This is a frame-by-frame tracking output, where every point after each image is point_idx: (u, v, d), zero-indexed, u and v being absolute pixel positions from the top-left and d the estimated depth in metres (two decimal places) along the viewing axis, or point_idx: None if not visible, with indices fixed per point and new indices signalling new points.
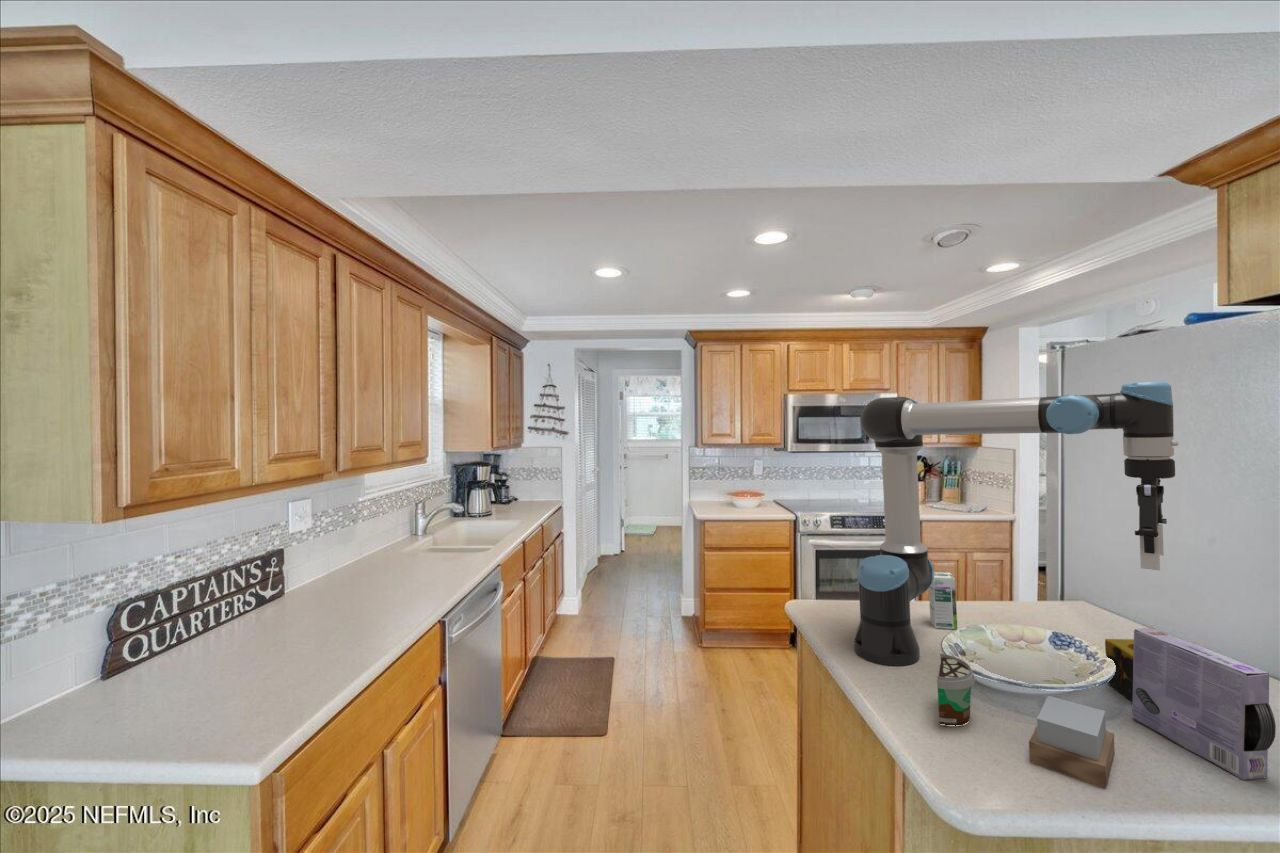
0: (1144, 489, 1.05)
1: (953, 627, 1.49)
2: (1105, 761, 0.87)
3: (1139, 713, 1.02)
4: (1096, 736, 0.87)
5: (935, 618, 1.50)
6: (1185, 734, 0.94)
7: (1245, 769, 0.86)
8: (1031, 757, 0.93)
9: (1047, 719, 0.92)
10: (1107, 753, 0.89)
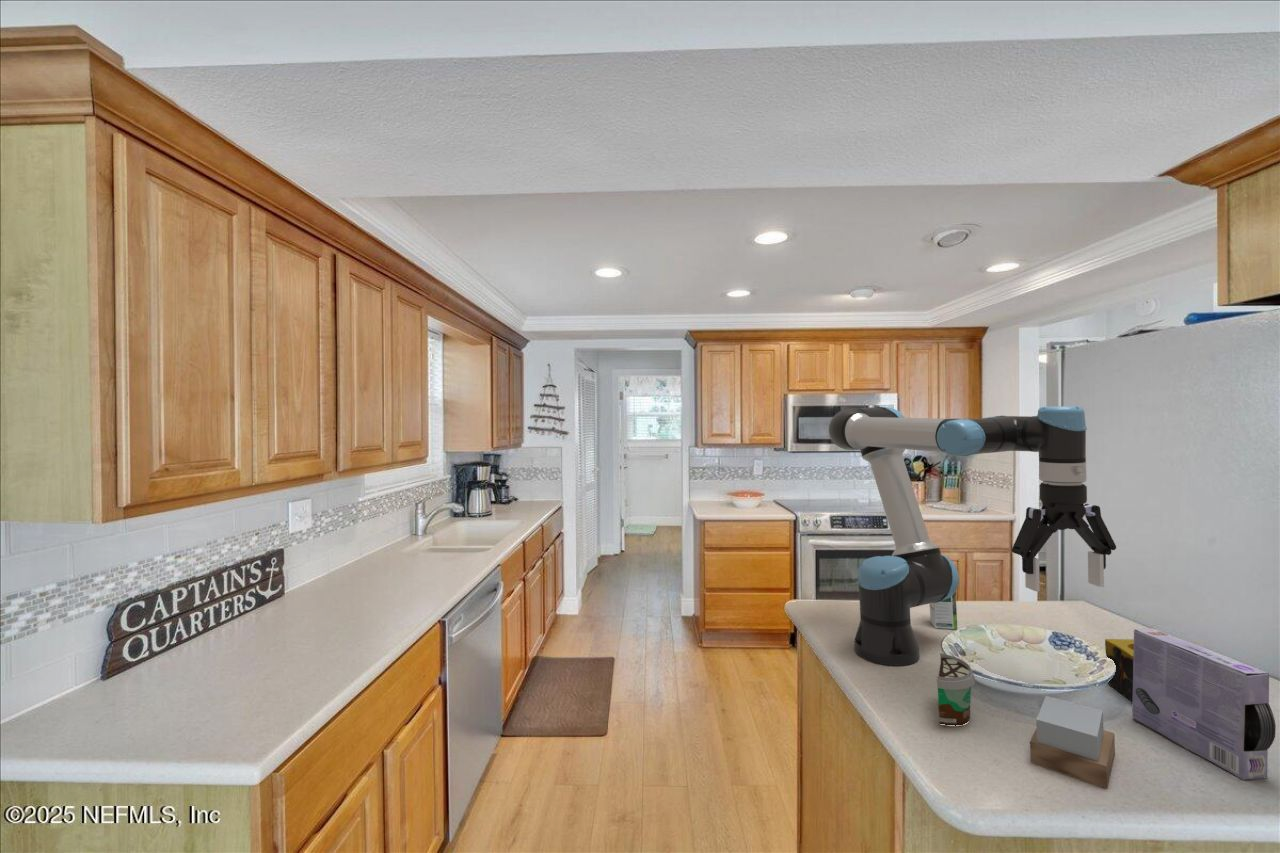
0: (1029, 512, 1.09)
1: (953, 627, 1.49)
2: (1106, 761, 0.87)
3: (1139, 713, 1.02)
4: (1096, 737, 0.87)
5: (935, 618, 1.50)
6: (1185, 734, 0.94)
7: (1245, 769, 0.86)
8: (1032, 757, 0.93)
9: (1046, 720, 0.92)
10: (1108, 753, 0.89)
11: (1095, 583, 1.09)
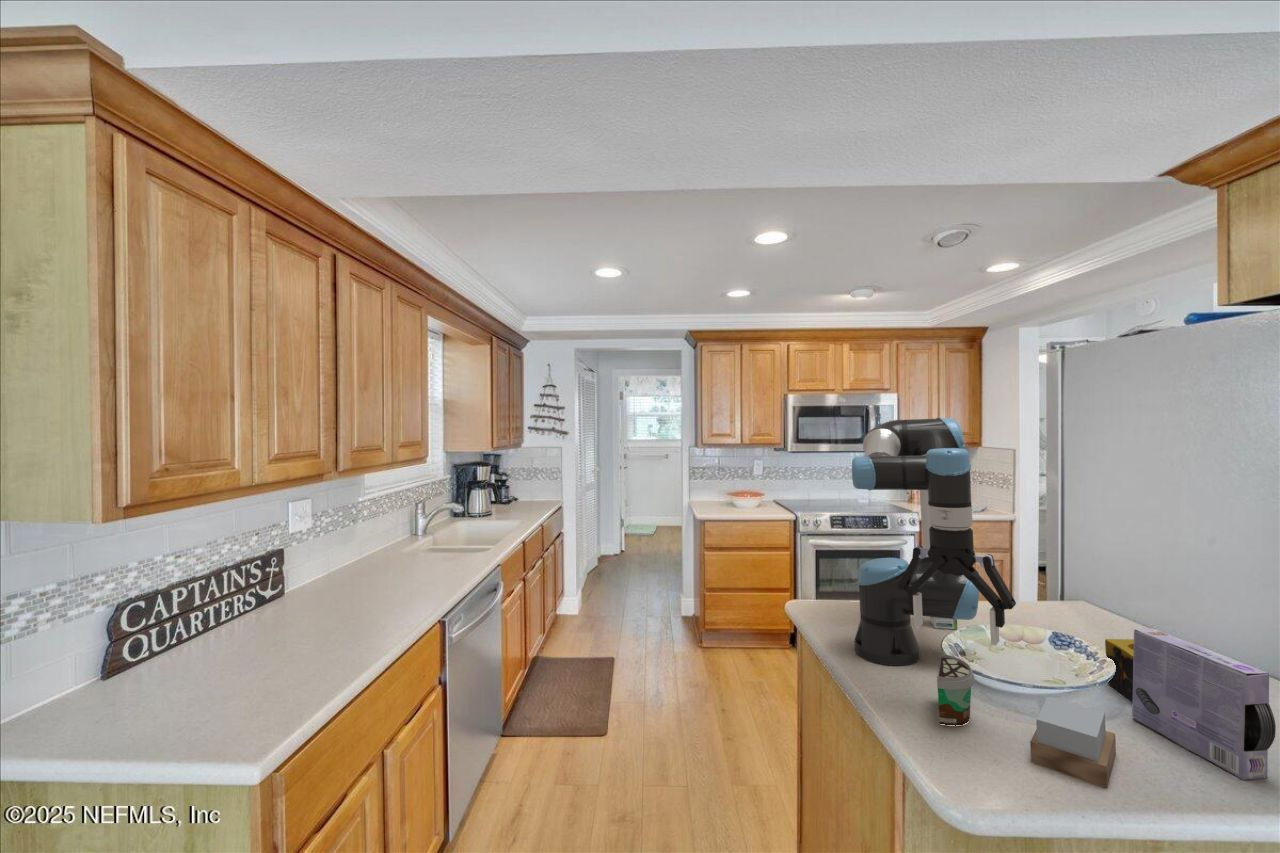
0: None
1: (953, 627, 1.49)
2: (1106, 761, 0.87)
3: (1139, 713, 1.02)
4: (1096, 737, 0.87)
5: (935, 618, 1.50)
6: (1185, 734, 0.94)
7: (1245, 769, 0.86)
8: (1032, 757, 0.93)
9: (1046, 720, 0.92)
10: (1108, 753, 0.89)
11: None
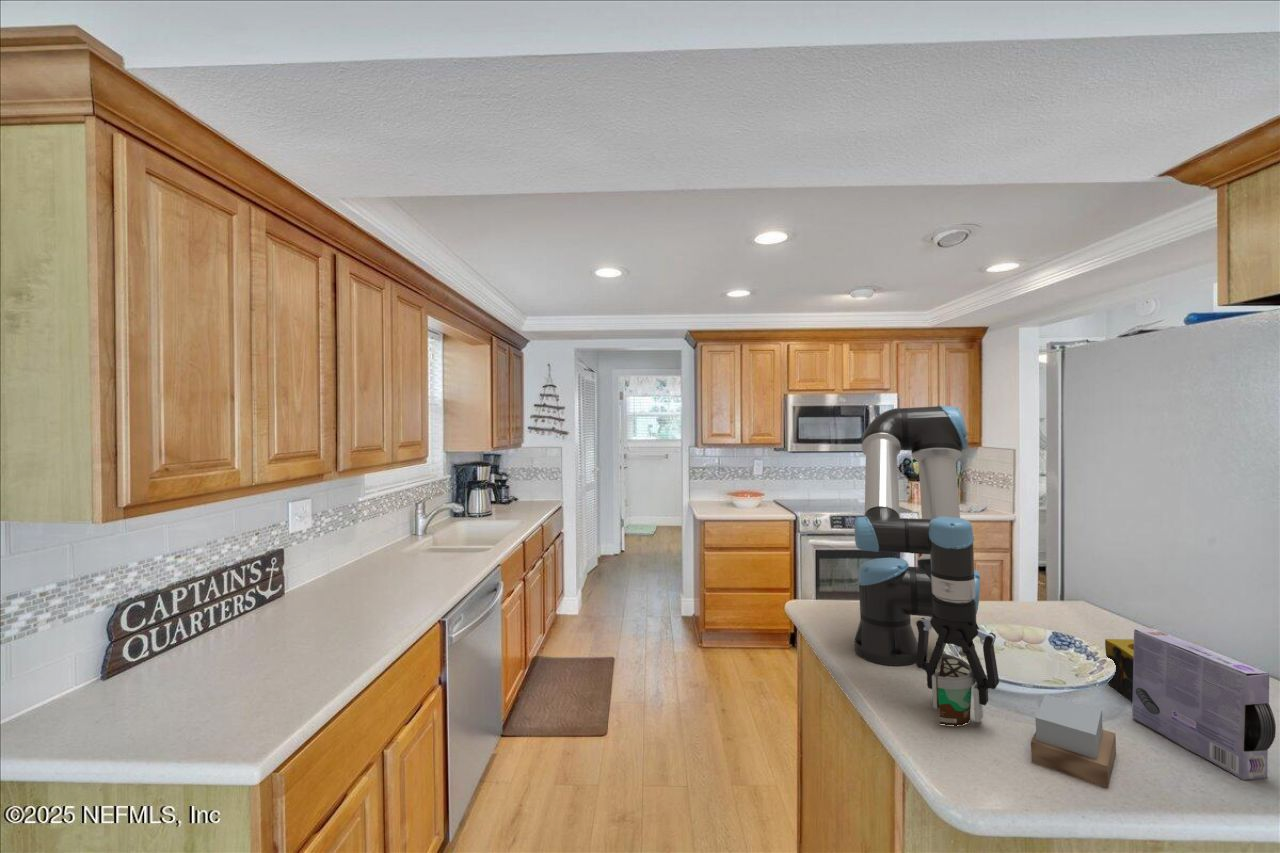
0: None
1: None
2: (1107, 761, 0.87)
3: (1139, 713, 1.02)
4: (1095, 735, 0.88)
5: None
6: (1185, 734, 0.94)
7: (1245, 769, 0.86)
8: (1033, 757, 0.93)
9: (1045, 718, 0.93)
10: (1109, 753, 0.89)
11: None
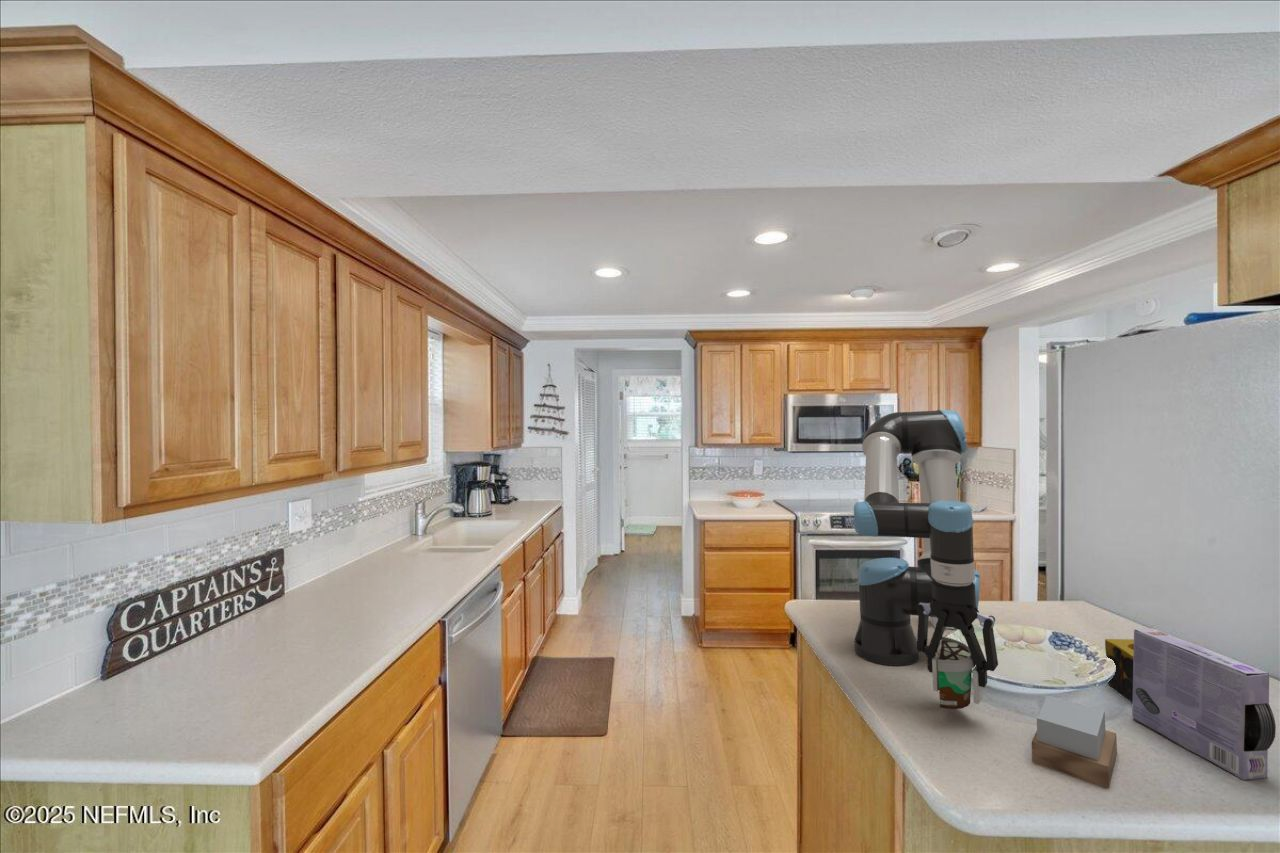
0: None
1: (953, 627, 1.49)
2: (1108, 761, 0.87)
3: (1139, 713, 1.02)
4: (1096, 736, 0.87)
5: (935, 618, 1.50)
6: (1185, 734, 0.94)
7: (1245, 769, 0.86)
8: (1034, 757, 0.93)
9: (1046, 719, 0.92)
10: (1110, 753, 0.89)
11: None
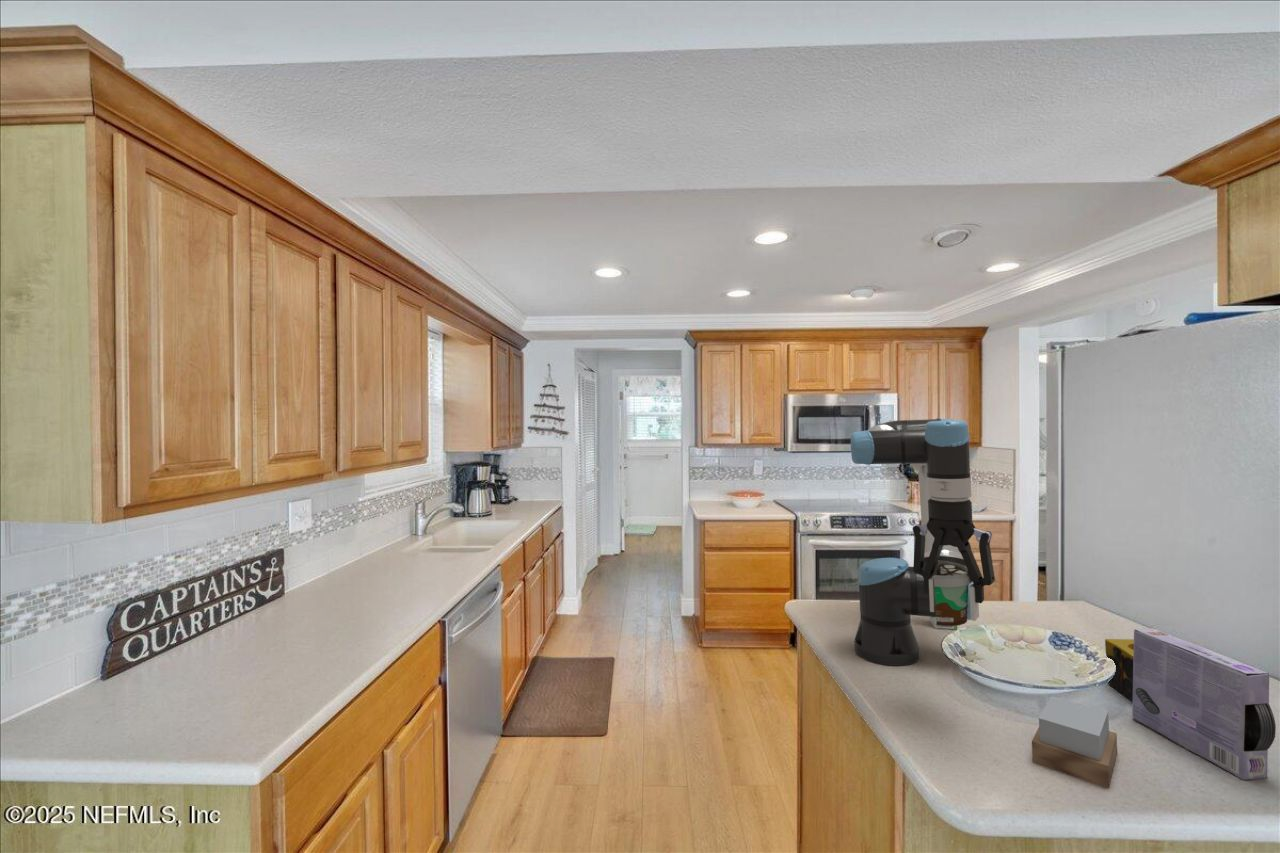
0: None
1: (953, 627, 1.49)
2: (1108, 761, 0.87)
3: (1139, 713, 1.02)
4: (1098, 736, 0.87)
5: (935, 618, 1.50)
6: (1185, 734, 0.94)
7: (1245, 769, 0.86)
8: (1034, 757, 0.93)
9: (1049, 719, 0.92)
10: (1110, 753, 0.89)
11: None
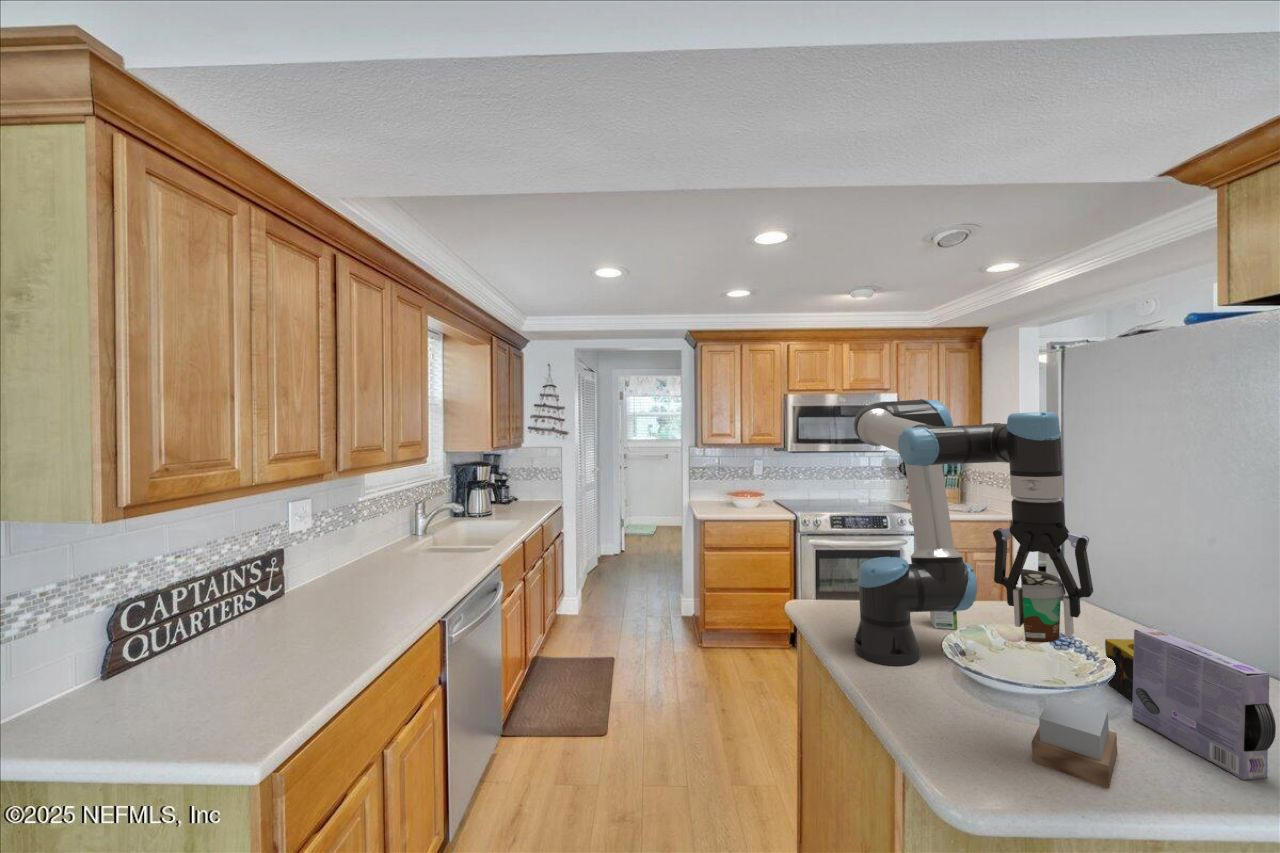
0: None
1: (953, 627, 1.49)
2: (1108, 761, 0.87)
3: (1139, 713, 1.02)
4: (1099, 736, 0.87)
5: (935, 618, 1.50)
6: (1185, 734, 0.94)
7: (1245, 769, 0.86)
8: (1034, 757, 0.93)
9: (1049, 719, 0.92)
10: (1110, 753, 0.89)
11: None
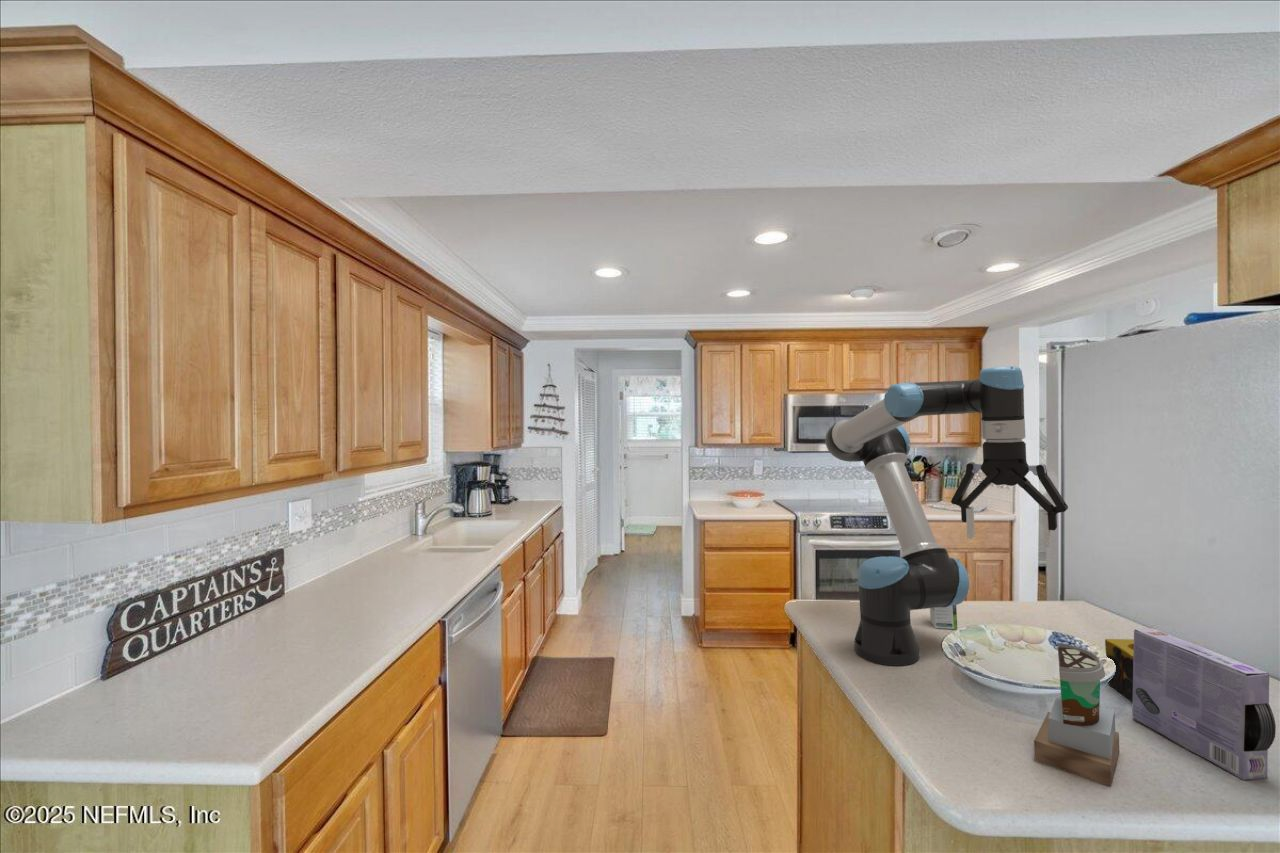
0: None
1: (953, 627, 1.49)
2: (1110, 760, 0.87)
3: (1139, 713, 1.02)
4: (1109, 736, 0.87)
5: (935, 618, 1.50)
6: (1185, 734, 0.94)
7: (1245, 769, 0.86)
8: (1036, 756, 0.93)
9: (1058, 719, 0.92)
10: (1112, 752, 0.89)
11: None
